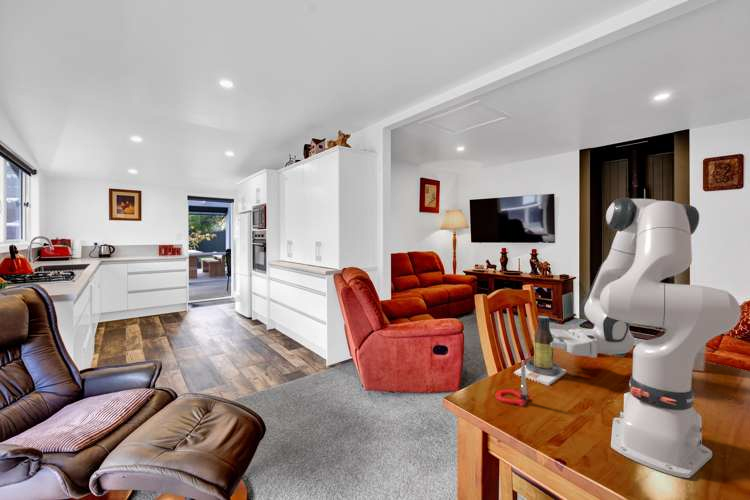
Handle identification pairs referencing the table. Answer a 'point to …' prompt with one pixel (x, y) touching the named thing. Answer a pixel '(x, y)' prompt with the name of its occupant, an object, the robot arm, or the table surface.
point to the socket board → (542, 377)
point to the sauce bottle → (543, 344)
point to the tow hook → (522, 395)
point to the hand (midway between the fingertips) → (544, 340)
